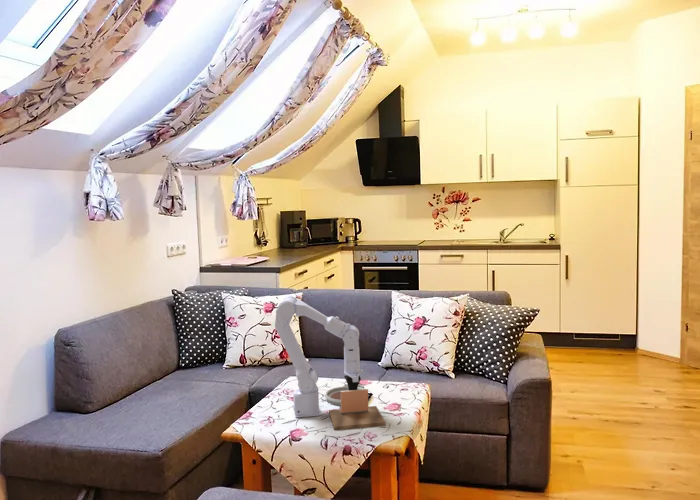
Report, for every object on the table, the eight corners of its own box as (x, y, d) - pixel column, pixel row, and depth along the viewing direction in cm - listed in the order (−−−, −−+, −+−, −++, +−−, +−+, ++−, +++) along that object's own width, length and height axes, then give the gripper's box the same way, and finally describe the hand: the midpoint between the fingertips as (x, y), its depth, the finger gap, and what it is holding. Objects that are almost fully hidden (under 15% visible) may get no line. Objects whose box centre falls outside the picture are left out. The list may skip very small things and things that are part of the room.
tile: (341, 413, 223) (341, 414, 223) (340, 391, 222) (340, 392, 221) (367, 410, 225) (368, 411, 224) (367, 389, 223) (368, 390, 222)
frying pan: (377, 379, 259) (361, 401, 232) (377, 386, 259) (361, 408, 232) (338, 377, 263) (319, 398, 236) (338, 383, 263) (319, 405, 236)
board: (334, 430, 212) (334, 426, 211) (328, 413, 227) (328, 410, 227) (385, 425, 214) (385, 422, 214) (376, 409, 230) (376, 405, 230)
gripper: (366, 364, 218) (367, 400, 220) (359, 353, 232) (360, 387, 234) (346, 365, 217) (348, 402, 218) (340, 354, 231) (341, 389, 233)
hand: (352, 395), depth 226 cm, fingers closed
